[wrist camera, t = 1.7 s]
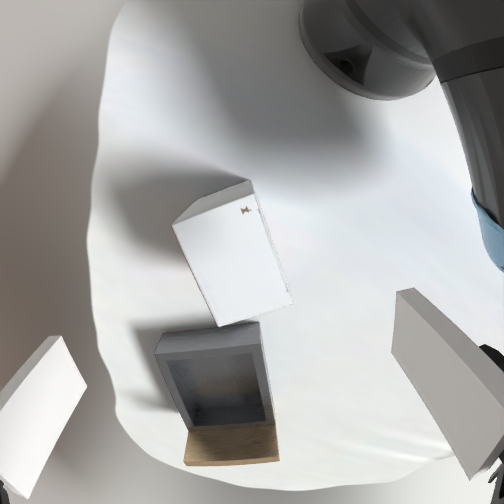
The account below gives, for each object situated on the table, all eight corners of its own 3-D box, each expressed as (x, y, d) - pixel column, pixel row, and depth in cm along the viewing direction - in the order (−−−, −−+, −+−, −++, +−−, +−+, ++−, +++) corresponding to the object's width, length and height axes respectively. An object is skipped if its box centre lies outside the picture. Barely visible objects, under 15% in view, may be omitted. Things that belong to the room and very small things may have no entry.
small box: (195, 199, 28) (167, 222, 18) (251, 178, 27) (254, 189, 17) (225, 274, 30) (216, 330, 20) (278, 255, 30) (295, 305, 19)
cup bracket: (259, 321, 32) (263, 376, 23) (274, 408, 36) (279, 460, 27) (162, 333, 32) (140, 385, 23) (194, 415, 36) (186, 466, 28)
